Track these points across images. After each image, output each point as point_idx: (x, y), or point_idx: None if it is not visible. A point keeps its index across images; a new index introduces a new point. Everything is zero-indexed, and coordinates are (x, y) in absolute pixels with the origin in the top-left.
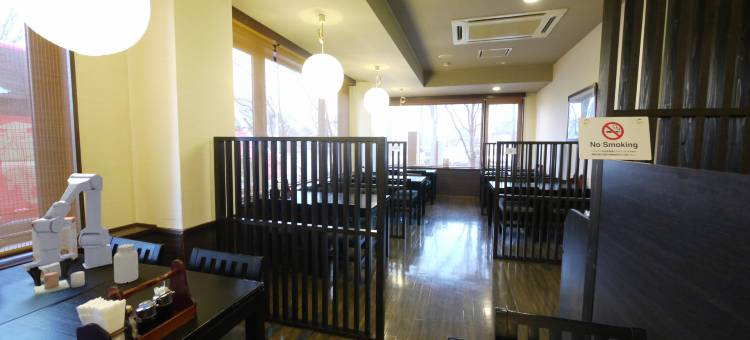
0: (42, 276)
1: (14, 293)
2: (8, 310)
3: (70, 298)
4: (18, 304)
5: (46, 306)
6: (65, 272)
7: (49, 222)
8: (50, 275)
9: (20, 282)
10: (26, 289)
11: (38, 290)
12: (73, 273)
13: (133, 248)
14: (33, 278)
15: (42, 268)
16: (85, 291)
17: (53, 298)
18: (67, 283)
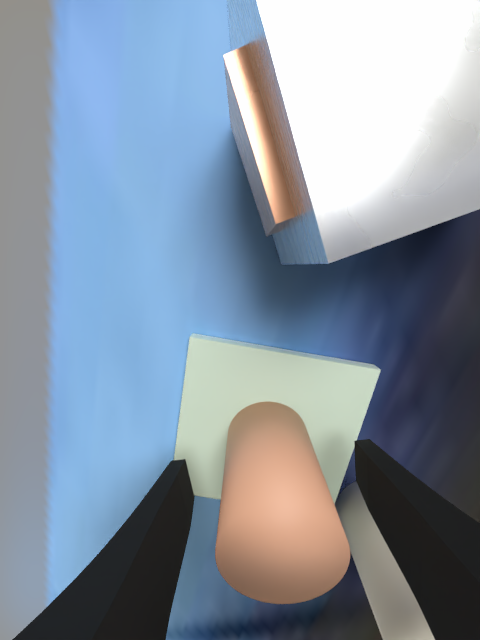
0: (278, 229)
1: (90, 326)
2: (54, 558)
3: (266, 632)
4: (93, 525)
5: (175, 633)
6: (400, 564)
7: None
8: (264, 583)
9: (153, 33)
10: (156, 309)
11: (193, 440)
12: (424, 618)
13: None
14: (125, 538)
15: (309, 198)
16: (343, 611)
17: (220, 578)
18: (346, 462)
